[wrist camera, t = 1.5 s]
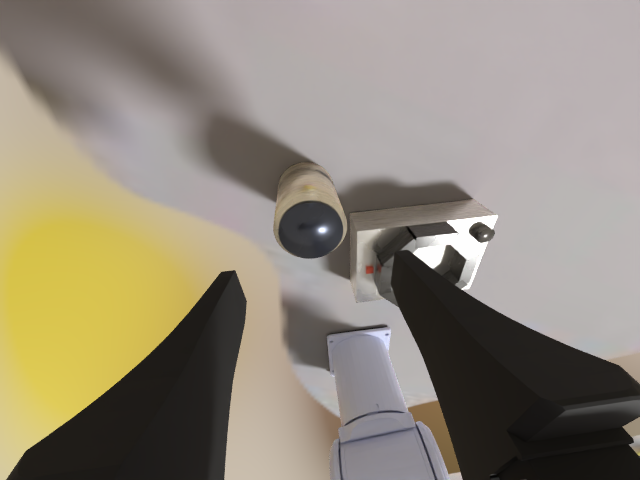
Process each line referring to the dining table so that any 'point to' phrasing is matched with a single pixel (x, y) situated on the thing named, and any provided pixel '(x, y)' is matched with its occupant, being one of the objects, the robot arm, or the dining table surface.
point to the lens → (308, 212)
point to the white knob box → (417, 243)
